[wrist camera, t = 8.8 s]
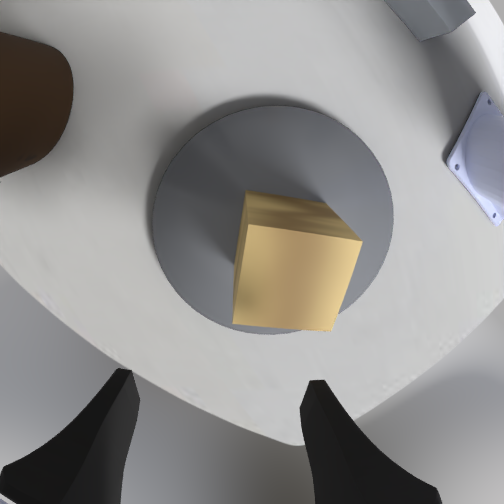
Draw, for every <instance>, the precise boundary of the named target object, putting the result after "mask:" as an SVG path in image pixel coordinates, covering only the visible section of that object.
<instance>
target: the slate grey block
mask: <svg viewBox="0 0 504 504" xmlns="http://www.w3.org/2000/svg"><path fill="white" fill-rule="evenodd" d="M384 1H385V2H386V3H387V4H388V6H389V7H390V8H391V9H392V10H393V11H394V12H395V13H396V14H397V15H398V17H399V18H400V19H401V20H402V21H403V22H404V23H405V25H406V26H407V27H408V28H409V29H410V31H411V32H412V33H413V34H414V36H415V37H416V38H417V39H418V41H419V42H420V41H423V40H426V39H429V38H433V37H436V36H440V35H443V34H447V33H450V32H452V31H454V30H455V29H456V28H457V27H459V26H460V25H461V24H462V23H464V22H465V21H466V20H468V19H469V18H470V17H471V16H473V15H474V14H475V13H476V12H475V11H474V9H473V8H472V7H471V5H470V4H469V3H468V1H467V0H384Z"/></svg>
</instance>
